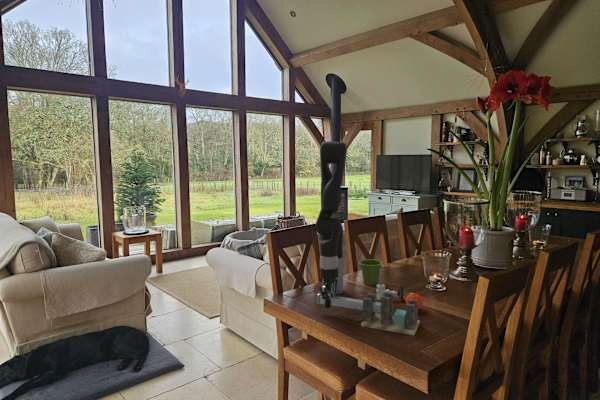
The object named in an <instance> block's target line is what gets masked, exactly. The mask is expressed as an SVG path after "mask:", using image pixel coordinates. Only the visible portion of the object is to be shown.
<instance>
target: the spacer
mask: <svg viewBox="0 0 600 400" xmlns="http://www.w3.org/2000/svg"><path fill="white" fill-rule="evenodd" d="M393 316H394V325H395V326H401V327H405V325H406V309H399V308H397V309H396V310H395V311H394V312H393Z"/></svg>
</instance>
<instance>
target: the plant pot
mask: <svg viewBox="0 0 600 400" xmlns="http://www.w3.org/2000/svg"><path fill="white" fill-rule="evenodd" d="M358 263H359V266H360V269H361V274H362V279H363V284H364V285H366V286H377V285H378V284H379V281H380V273H381V268H382V265H383V261H381V260H379V259H372V258H371V259H362V260H360V261H358Z"/></svg>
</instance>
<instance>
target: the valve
mask: <svg viewBox="0 0 600 400" xmlns="http://www.w3.org/2000/svg"><path fill="white" fill-rule="evenodd" d="M385 292H390V293H393V296H396V295H397V296H398V299H400V301H404V286H400V288H399V289H398V290H397V291H396V290H390V289H389V288H388V289H386V284H383V283H378V284H377V285H376V291H375V295H376V300H378V301H381V297H382V296H384V293H385Z"/></svg>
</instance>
